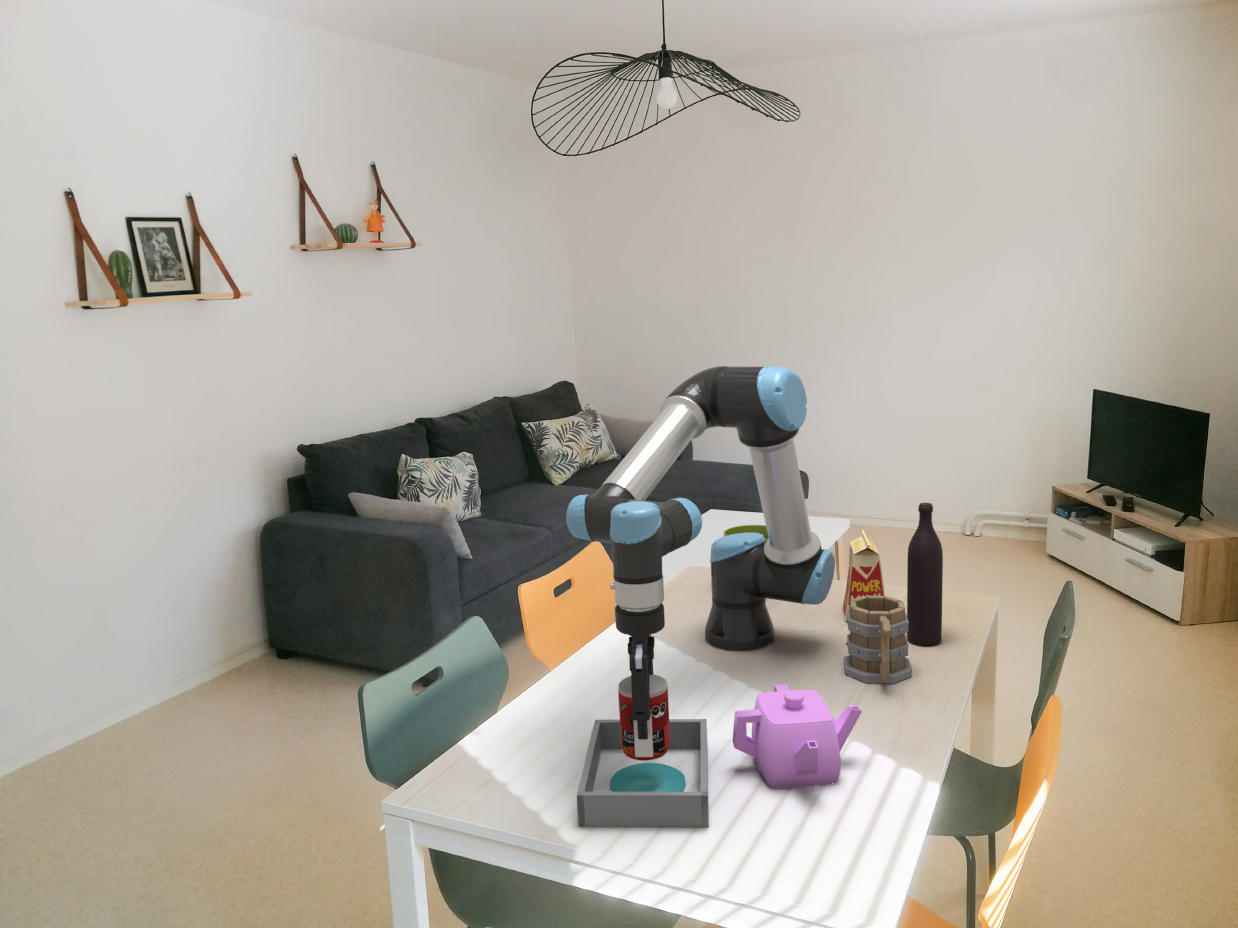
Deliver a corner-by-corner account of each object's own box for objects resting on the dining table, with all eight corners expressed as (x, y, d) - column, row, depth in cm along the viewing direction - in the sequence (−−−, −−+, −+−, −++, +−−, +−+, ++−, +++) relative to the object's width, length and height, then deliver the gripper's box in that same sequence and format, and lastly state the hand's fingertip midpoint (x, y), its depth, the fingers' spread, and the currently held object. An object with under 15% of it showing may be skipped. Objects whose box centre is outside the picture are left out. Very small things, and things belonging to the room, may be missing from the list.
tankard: (843, 657, 192) (842, 588, 190) (906, 659, 190) (907, 588, 187) (848, 699, 173) (847, 622, 170) (918, 701, 171) (919, 624, 168)
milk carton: (841, 610, 220) (841, 528, 216) (882, 610, 218) (882, 527, 214) (845, 623, 211) (845, 538, 207) (887, 624, 209) (888, 538, 206)
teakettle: (777, 731, 162) (775, 664, 160) (867, 759, 151) (867, 688, 149) (721, 772, 150) (719, 700, 148) (816, 806, 139) (815, 729, 137)
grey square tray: (596, 746, 160) (594, 719, 159) (707, 746, 158) (706, 718, 157) (578, 826, 136) (576, 795, 136) (708, 826, 135) (707, 795, 134)
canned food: (617, 760, 143) (613, 693, 141) (626, 735, 151) (623, 672, 149) (666, 763, 142) (663, 695, 140) (673, 738, 149) (670, 673, 147)
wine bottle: (948, 641, 198) (950, 503, 192) (927, 649, 194) (929, 509, 188) (921, 632, 204) (922, 498, 198) (899, 639, 200) (900, 504, 194)
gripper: (620, 582, 152) (627, 712, 157) (608, 629, 132) (616, 776, 136) (666, 581, 152) (671, 711, 156) (661, 628, 131) (667, 776, 136)
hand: (645, 741), depth 146 cm, fingers closed on canned food, 8 cm apart
